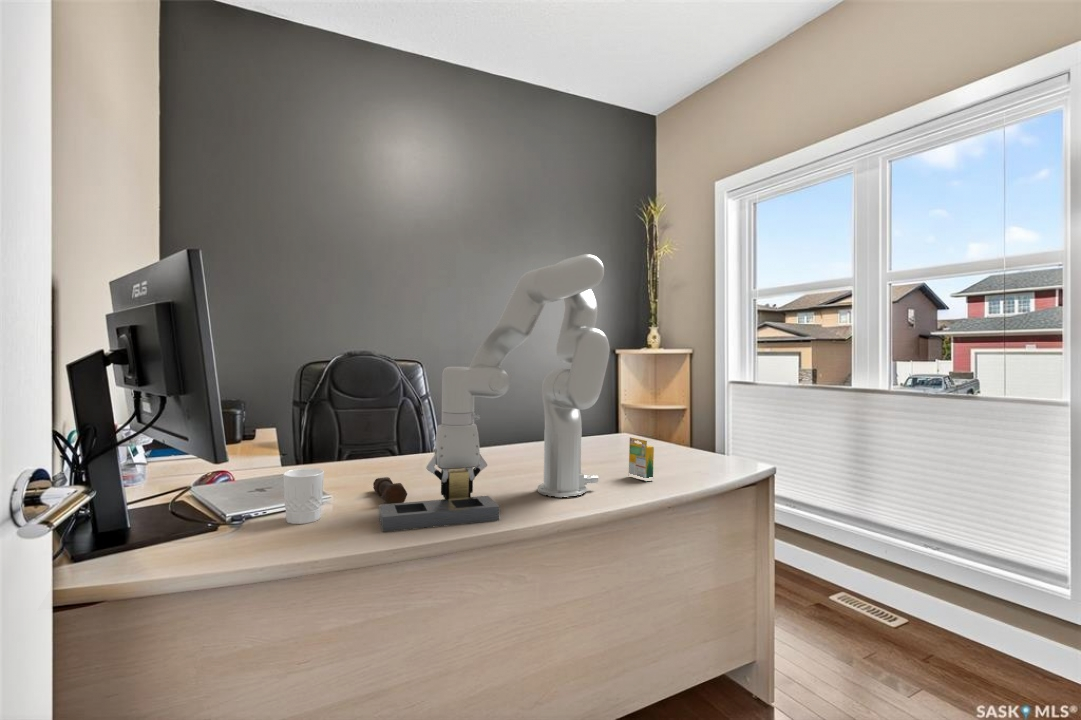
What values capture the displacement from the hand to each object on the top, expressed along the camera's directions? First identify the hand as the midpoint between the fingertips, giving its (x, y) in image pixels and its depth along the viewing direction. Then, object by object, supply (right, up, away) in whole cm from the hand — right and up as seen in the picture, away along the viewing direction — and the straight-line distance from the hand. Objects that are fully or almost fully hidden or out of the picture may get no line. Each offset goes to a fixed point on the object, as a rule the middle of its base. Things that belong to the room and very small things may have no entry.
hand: (456, 496), depth 129 cm
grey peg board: (-2, -2, -11) cm, 12 cm away
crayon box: (+48, -2, +28) cm, 56 cm away
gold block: (0, -2, 0) cm, 2 cm away
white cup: (-30, -2, -13) cm, 33 cm away
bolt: (-18, -2, +5) cm, 18 cm away
